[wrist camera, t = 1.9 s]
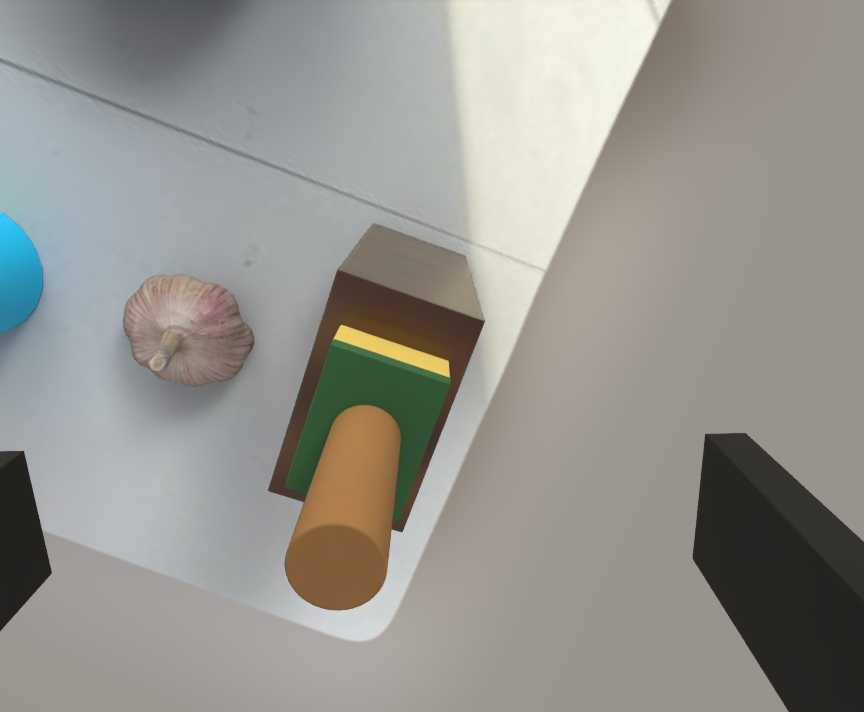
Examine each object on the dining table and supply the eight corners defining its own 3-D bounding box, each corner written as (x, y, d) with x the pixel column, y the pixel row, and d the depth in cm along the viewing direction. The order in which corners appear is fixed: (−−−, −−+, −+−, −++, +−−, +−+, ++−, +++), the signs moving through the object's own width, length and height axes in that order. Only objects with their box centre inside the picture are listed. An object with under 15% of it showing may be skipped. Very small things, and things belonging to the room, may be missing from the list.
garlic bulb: (280, 342, 43) (248, 385, 35) (189, 398, 44) (138, 451, 36) (209, 241, 41) (158, 262, 33) (115, 302, 42) (46, 336, 35)
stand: (373, 222, 41) (337, 269, 25) (465, 255, 41) (485, 320, 26) (325, 370, 44) (267, 491, 28) (412, 399, 44) (402, 533, 29)
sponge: (340, 323, 26) (282, 438, 16) (449, 360, 27) (460, 494, 16) (297, 456, 28) (219, 636, 18) (400, 488, 28) (382, 683, 18)
